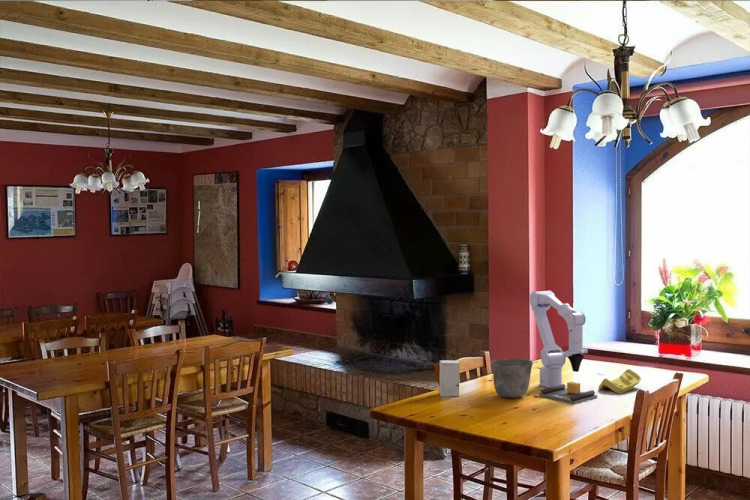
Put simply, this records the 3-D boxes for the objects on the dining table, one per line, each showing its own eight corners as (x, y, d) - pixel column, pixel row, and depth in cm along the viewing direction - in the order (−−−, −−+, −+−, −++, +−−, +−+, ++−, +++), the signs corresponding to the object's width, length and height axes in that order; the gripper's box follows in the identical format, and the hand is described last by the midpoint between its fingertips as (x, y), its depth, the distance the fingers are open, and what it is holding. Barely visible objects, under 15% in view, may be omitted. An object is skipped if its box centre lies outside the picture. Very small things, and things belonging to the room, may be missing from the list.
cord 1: (539, 393, 298) (539, 388, 298) (561, 388, 307) (561, 383, 307) (543, 394, 296) (543, 389, 296) (565, 388, 305) (565, 384, 305)
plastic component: (621, 389, 299) (602, 376, 305) (615, 403, 302) (596, 389, 308) (645, 379, 311) (626, 366, 318) (639, 392, 314) (620, 379, 321)
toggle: (567, 391, 299) (567, 381, 299) (571, 390, 301) (571, 380, 301) (575, 393, 296) (575, 383, 295) (580, 392, 298) (580, 382, 297)
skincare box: (440, 397, 298) (440, 362, 298) (439, 393, 304) (438, 359, 304) (460, 396, 299) (460, 362, 298) (458, 393, 305) (457, 359, 304)
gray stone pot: (502, 389, 310) (502, 356, 310) (539, 394, 300) (539, 360, 300) (484, 397, 296) (484, 362, 295) (523, 403, 286) (523, 367, 285)
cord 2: (568, 400, 286) (568, 395, 286) (590, 394, 295) (590, 389, 295) (573, 401, 284) (573, 396, 284) (594, 395, 293) (594, 390, 293)
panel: (538, 395, 298) (538, 392, 298) (562, 390, 308) (562, 387, 308) (574, 404, 284) (574, 401, 284) (597, 397, 294) (597, 394, 294)
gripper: (573, 343, 292) (573, 375, 293) (593, 339, 301) (593, 370, 302) (559, 341, 298) (559, 372, 299) (580, 337, 307) (580, 367, 307)
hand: (575, 371), depth 301 cm, fingers closed
